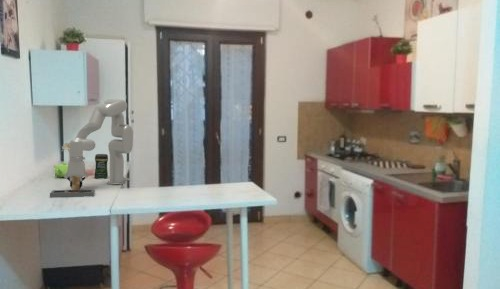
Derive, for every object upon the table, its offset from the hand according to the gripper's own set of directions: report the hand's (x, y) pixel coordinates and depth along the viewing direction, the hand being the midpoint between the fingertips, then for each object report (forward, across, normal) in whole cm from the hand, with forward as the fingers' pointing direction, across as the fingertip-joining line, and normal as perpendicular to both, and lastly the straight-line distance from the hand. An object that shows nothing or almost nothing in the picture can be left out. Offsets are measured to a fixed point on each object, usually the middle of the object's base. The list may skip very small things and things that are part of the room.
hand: (76, 187), depth 256 cm
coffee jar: (+3, -12, -51) cm, 52 cm away
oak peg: (+2, 0, 0) cm, 2 cm away
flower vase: (+3, +14, -81) cm, 82 cm away
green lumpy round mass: (+3, +14, -56) cm, 58 cm away
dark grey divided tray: (+2, 0, +14) cm, 14 cm away
